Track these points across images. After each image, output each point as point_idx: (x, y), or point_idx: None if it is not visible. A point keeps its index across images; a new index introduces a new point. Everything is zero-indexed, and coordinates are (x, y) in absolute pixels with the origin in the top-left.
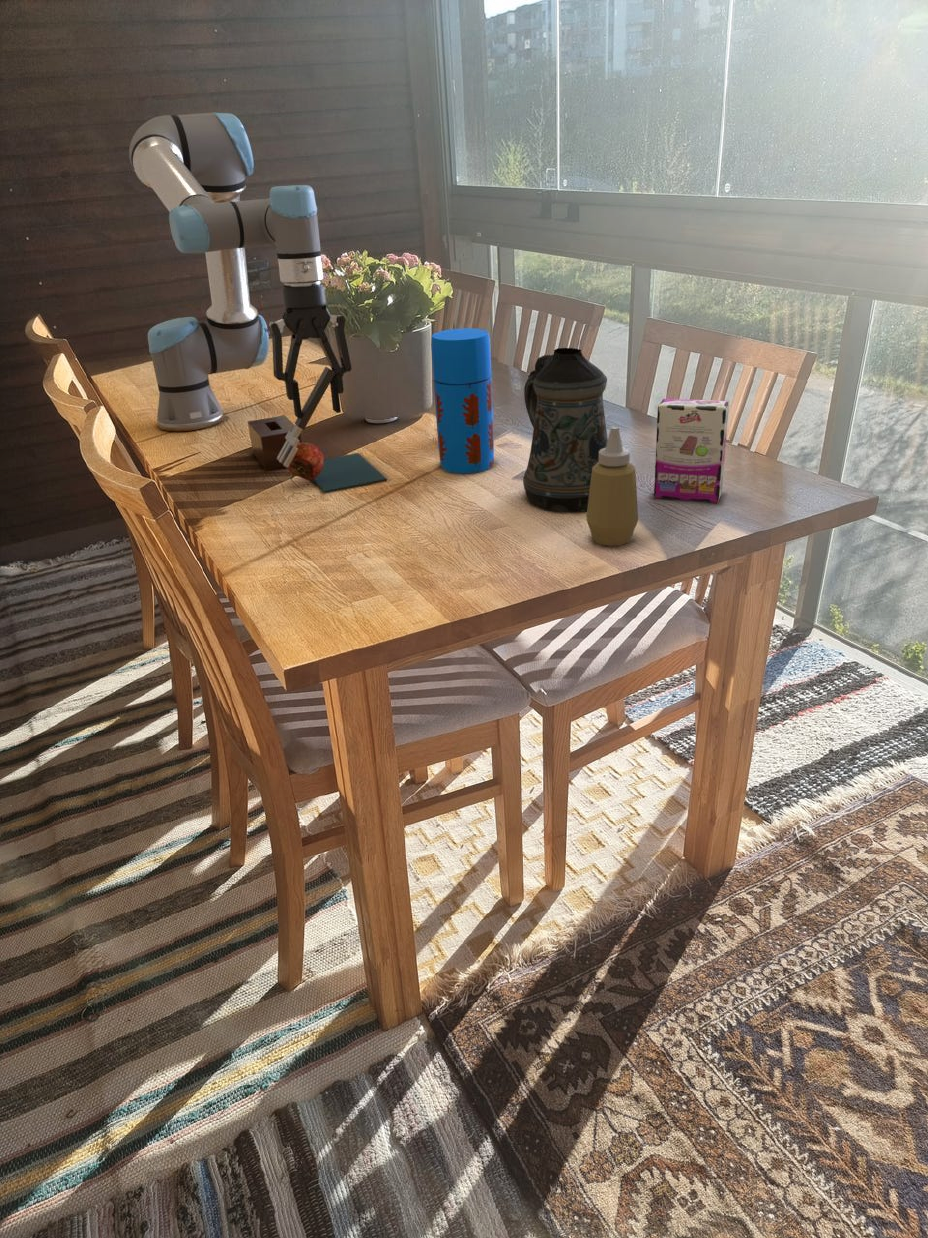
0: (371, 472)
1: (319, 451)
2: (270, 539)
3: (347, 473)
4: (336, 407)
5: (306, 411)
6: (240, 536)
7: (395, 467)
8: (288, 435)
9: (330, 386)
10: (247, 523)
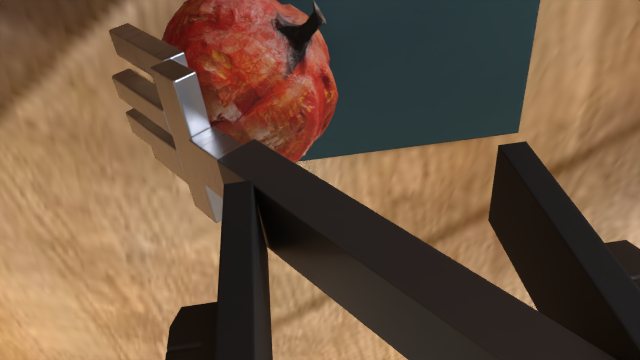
0: (503, 53)
1: (324, 113)
2: (137, 356)
3: (418, 26)
4: (501, 243)
5: (301, 272)
6: (60, 332)
7: (614, 8)
8: (173, 108)
9: (579, 266)
10: (62, 280)
